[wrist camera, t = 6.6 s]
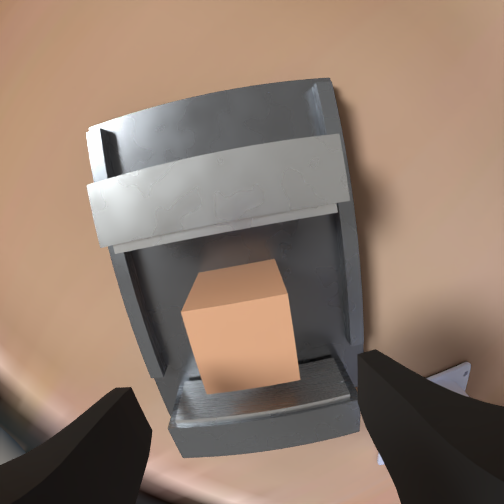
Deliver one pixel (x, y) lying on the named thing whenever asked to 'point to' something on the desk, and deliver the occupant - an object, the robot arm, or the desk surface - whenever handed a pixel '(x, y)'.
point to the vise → (239, 253)
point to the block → (241, 328)
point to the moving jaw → (220, 193)
